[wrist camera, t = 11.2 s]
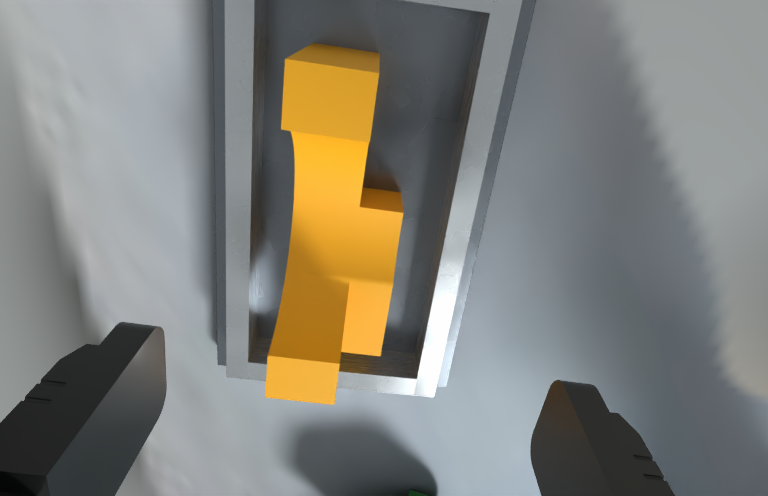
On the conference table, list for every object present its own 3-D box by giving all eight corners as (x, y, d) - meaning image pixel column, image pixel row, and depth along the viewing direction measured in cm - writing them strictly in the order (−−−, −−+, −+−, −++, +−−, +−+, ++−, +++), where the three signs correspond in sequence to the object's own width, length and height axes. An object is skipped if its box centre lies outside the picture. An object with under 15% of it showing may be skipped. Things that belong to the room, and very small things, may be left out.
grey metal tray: (537, -39, 19) (563, -45, 17) (443, 375, 28) (450, 414, 25) (219, -87, 19) (192, -102, 16) (223, 352, 27) (205, 391, 24)
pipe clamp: (380, 315, 25) (380, 409, 19) (292, 304, 25) (265, 397, 19) (423, 60, 20) (441, 82, 14) (313, 42, 20) (285, 58, 14)
